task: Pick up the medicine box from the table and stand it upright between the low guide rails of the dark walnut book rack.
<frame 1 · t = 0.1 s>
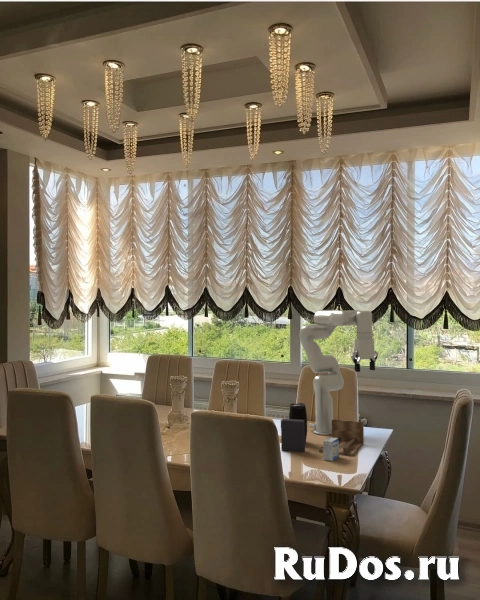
hand: (364, 370, 261), 37 cm above the table, tool pointing down, fingers open, 9 cm apart
medicine box: (331, 458, 243), on the table
book rack: (342, 448, 259), on the table
portable speaker: (298, 443, 270), on the table
calculator: (293, 451, 255), on the table
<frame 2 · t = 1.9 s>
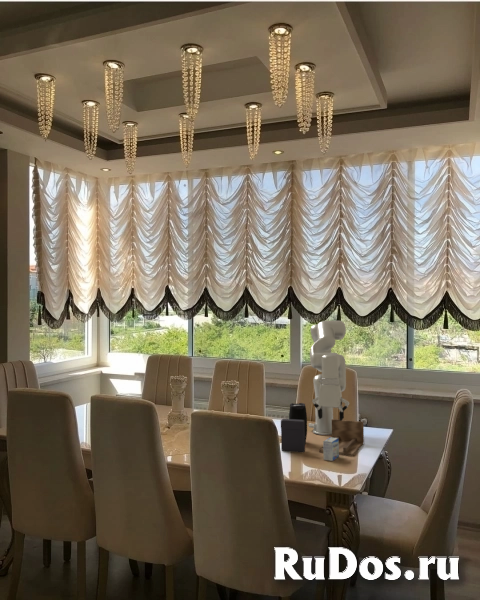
hand: (330, 419, 243), 18 cm above the table, tool pointing down, fingers open, 9 cm apart
nothing on the table moved.
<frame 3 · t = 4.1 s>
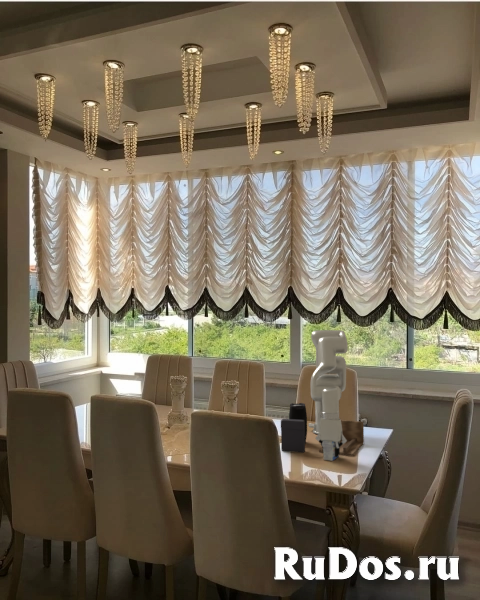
hand: (331, 455, 243), 1 cm above the table, tool pointing down, fingers closed on medicine box, 4 cm apart
medicine box: (331, 458, 243), on the table, touching gripper
everything else where it was.
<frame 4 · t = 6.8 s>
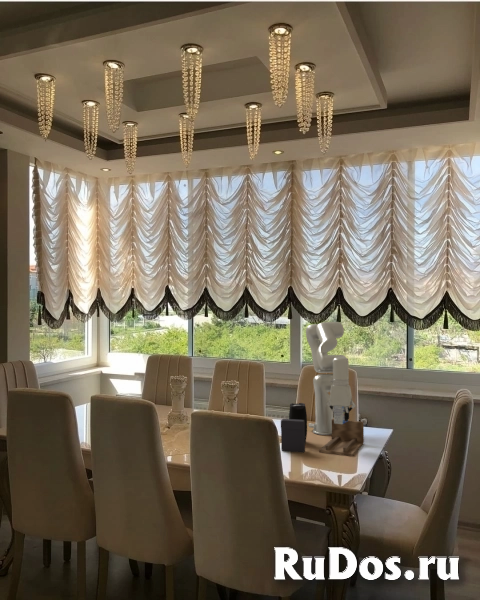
hand: (341, 419, 259), 14 cm above the table, tool pointing down, fingers closed on medicine box, 4 cm apart
medicine box: (341, 422, 259), point 12 cm above the table, touching gripper
everything else where it was.
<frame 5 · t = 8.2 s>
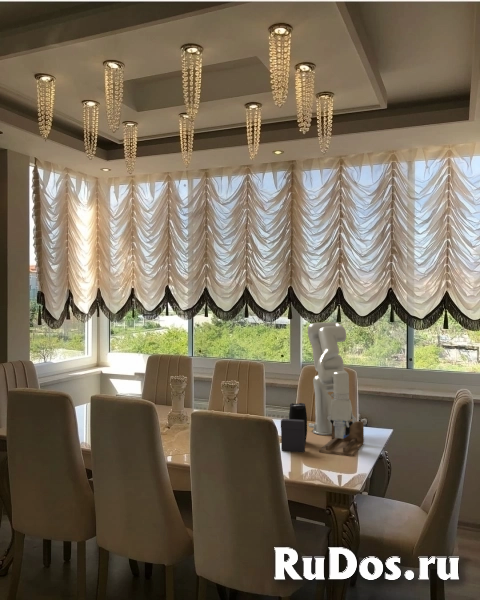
hand: (341, 433, 259), 7 cm above the table, tool pointing down, fingers closed on medicine box, 4 cm apart
medicine box: (341, 437, 259), point 5 cm above the table, touching gripper
everything else where it was.
when the fingers open (3 cm above the table, at t = 9.6 s): medicine box stays where it is, resting on book rack.
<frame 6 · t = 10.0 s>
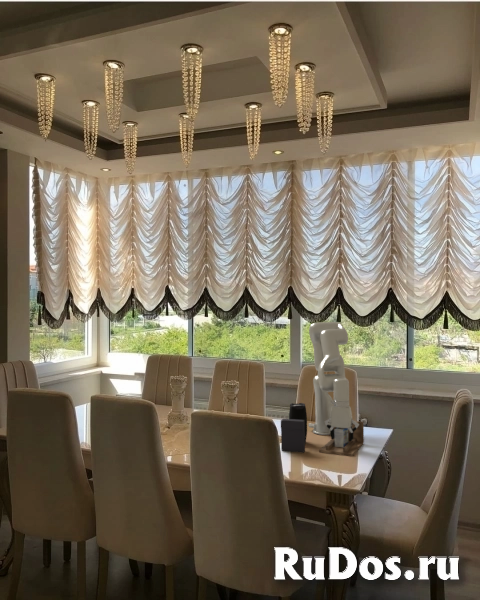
hand: (341, 439, 259), 4 cm above the table, tool pointing down, fingers open, 8 cm apart
medicine box: (341, 445, 259), point 1 cm above the table, touching book rack
everything else where it was.
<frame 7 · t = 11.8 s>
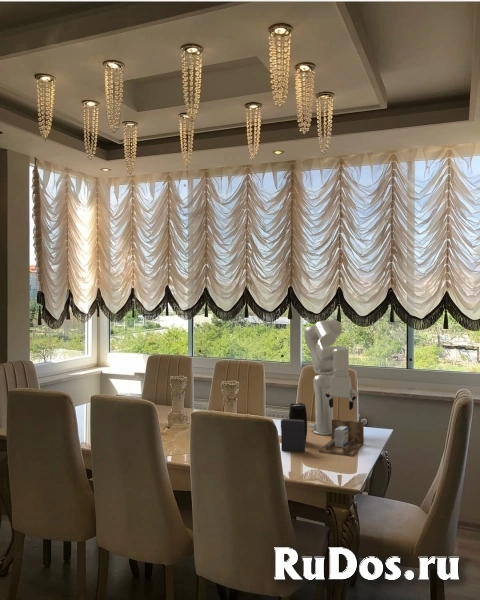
hand: (341, 408, 261), 19 cm above the table, tool pointing down, fingers open, 9 cm apart
nothing on the table moved.
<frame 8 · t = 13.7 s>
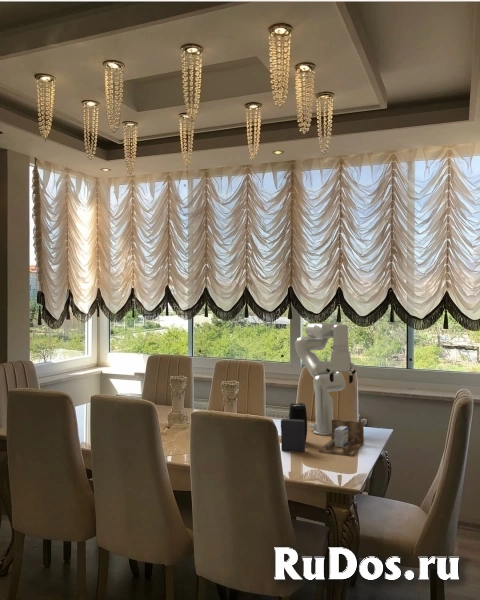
hand: (341, 382, 270), 30 cm above the table, tool pointing down, fingers open, 9 cm apart
nothing on the table moved.
at the end: medicine box inside the target area on the book rack (0.4 cm from its centre), point 1.0 cm above the book rack's base; medicine box tilted 0°; the gripper is holding nothing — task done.
